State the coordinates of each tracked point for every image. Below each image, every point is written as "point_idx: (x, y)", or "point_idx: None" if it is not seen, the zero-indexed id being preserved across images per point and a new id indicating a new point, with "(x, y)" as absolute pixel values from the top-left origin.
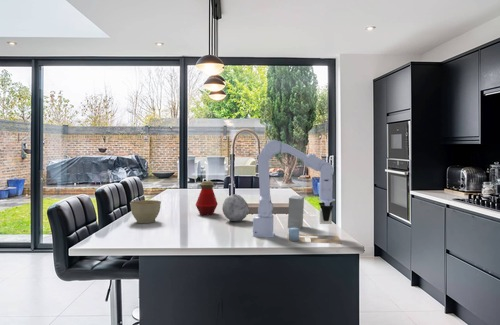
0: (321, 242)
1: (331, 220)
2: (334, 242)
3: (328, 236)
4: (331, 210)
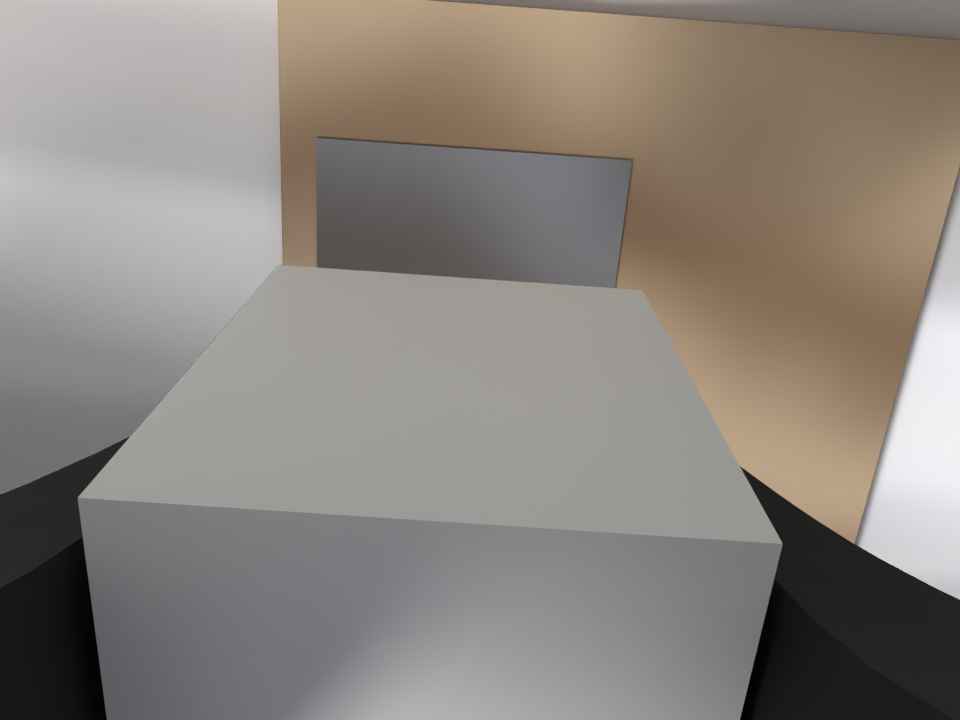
0: (859, 426)
1: (659, 334)
2: (885, 188)
3: (393, 226)
4: (767, 552)
